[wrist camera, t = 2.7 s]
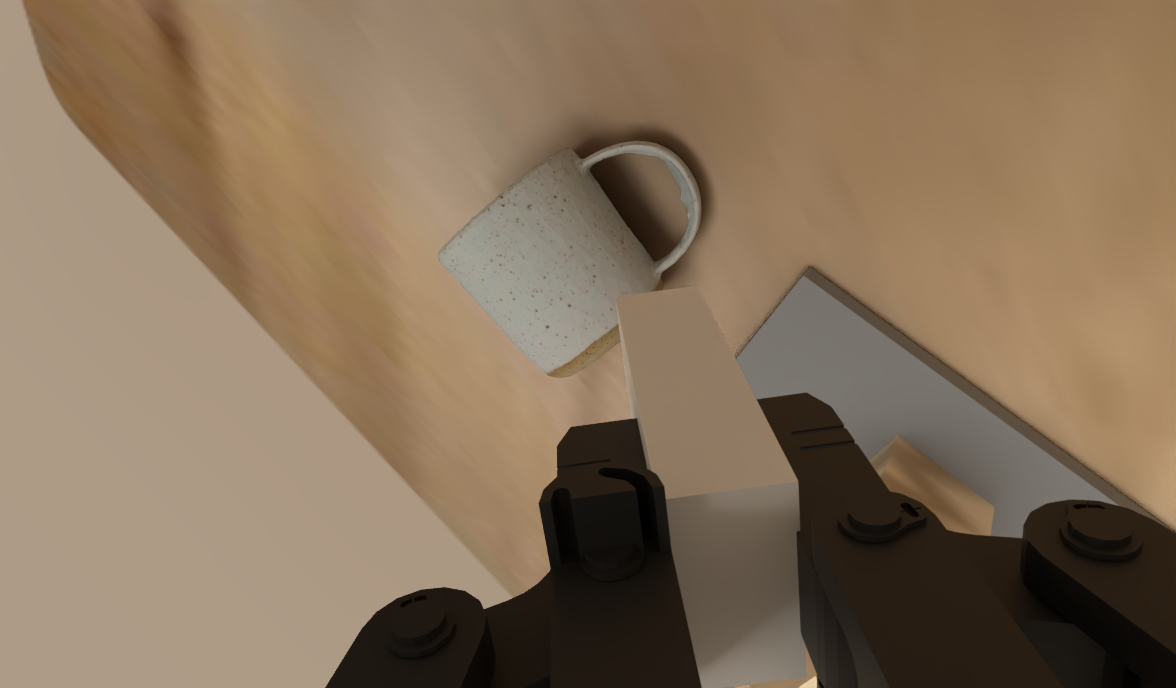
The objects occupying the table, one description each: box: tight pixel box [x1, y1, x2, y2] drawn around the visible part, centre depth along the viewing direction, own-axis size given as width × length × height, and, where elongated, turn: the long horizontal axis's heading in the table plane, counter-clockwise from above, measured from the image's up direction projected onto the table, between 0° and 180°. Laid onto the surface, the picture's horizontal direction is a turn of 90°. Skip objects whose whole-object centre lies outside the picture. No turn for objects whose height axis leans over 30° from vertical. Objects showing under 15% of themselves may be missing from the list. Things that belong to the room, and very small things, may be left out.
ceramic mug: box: [438, 141, 702, 378], centre depth 36 cm, size 11×8×8 cm
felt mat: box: [736, 267, 1176, 538], centre depth 41 cm, size 20×22×1 cm
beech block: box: [750, 435, 995, 688], centre depth 32 cm, size 5×5×14 cm
